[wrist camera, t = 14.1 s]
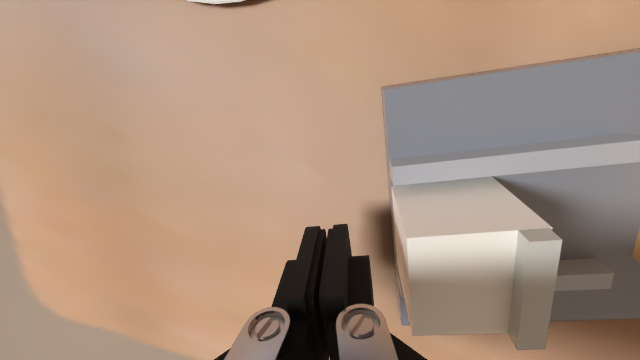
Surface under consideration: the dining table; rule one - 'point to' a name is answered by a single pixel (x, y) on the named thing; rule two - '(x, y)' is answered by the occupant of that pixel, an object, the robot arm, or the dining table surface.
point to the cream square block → (474, 261)
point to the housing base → (539, 162)
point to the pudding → (216, 1)
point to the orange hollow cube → (637, 248)
